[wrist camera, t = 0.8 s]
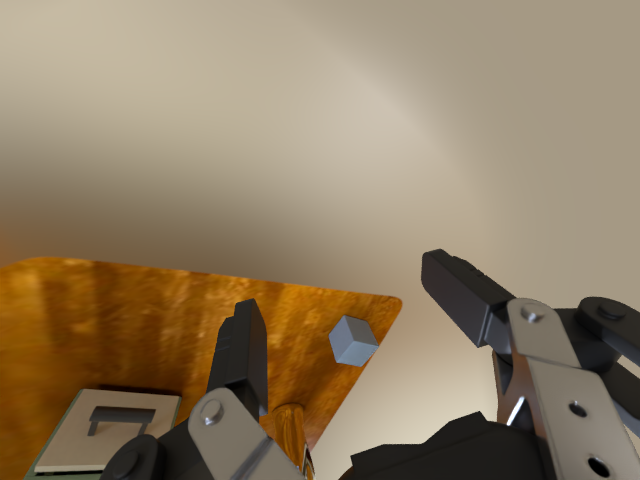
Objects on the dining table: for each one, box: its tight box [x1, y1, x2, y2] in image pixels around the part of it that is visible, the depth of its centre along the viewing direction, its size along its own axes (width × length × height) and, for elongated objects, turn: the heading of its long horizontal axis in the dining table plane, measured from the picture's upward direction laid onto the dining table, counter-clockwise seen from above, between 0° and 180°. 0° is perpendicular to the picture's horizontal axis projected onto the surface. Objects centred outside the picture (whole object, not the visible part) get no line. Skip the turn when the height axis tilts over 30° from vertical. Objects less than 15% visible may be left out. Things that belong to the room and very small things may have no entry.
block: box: [329, 315, 379, 366], centre depth 35 cm, size 5×5×5 cm
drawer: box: [34, 389, 179, 476], centre depth 31 cm, size 20×11×8 cm, turn 150°
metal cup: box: [272, 403, 316, 480], centre depth 39 cm, size 7×7×15 cm
